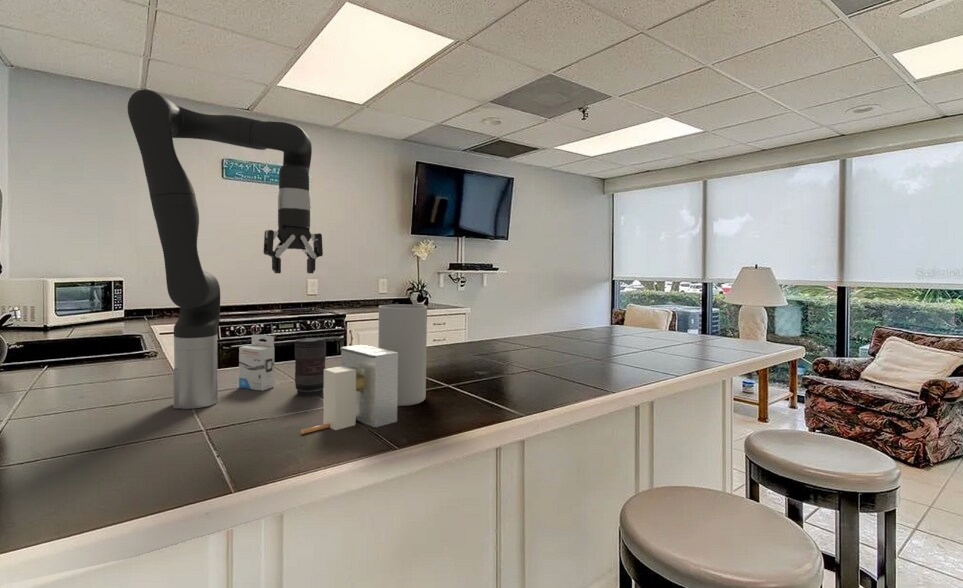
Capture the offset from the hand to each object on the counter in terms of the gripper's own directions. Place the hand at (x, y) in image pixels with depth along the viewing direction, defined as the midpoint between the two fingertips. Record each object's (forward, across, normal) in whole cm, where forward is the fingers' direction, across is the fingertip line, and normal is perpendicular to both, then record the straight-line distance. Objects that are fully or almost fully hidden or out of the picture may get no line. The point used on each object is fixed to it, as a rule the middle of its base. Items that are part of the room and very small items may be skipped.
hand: (294, 273), depth 121 cm
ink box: (+33, +1, -22) cm, 40 cm away
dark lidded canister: (+33, -7, -6) cm, 35 cm away
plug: (+33, -1, +23) cm, 40 cm away
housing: (+33, -7, +23) cm, 41 cm away
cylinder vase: (+33, -22, +16) cm, 43 cm away
